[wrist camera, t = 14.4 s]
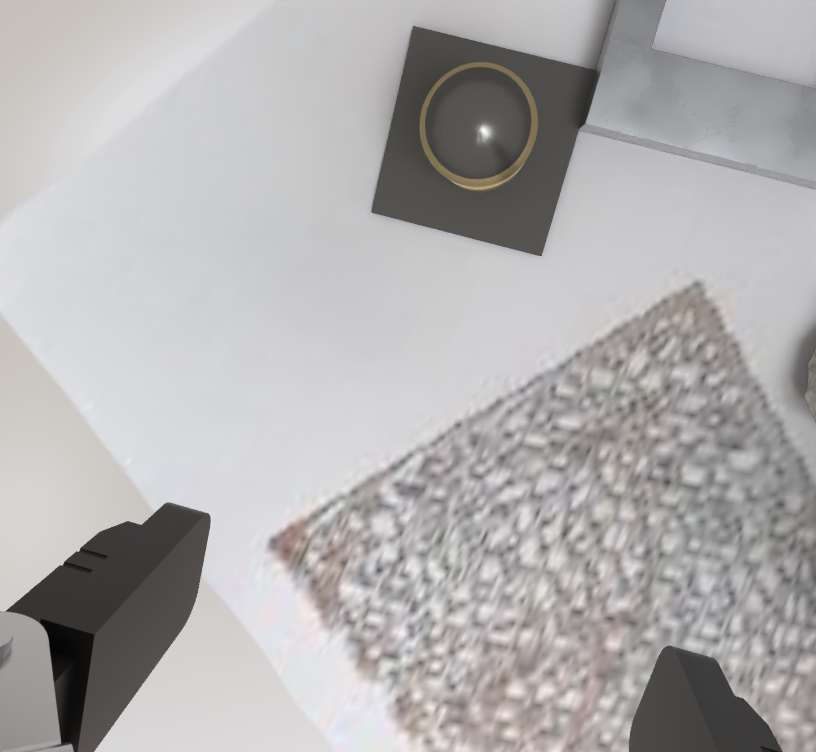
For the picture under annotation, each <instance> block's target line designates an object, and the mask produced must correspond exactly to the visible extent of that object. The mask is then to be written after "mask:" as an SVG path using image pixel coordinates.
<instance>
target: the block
mask: <svg viewBox="0 0 816 752" xmlns="http://www.w3.org/2000/svg"><path fill="white" fill-rule="evenodd" d="M665 2H666V0H616V3H615V6H614V10H613V13H612V16H611V20H610V23H609V27H608V30H607V33H606V37H605V40H604V43H603V47H602V50H601V54H600V57H599V60H598V64H597V67H596V73H595V76H594V80H593V83H592V87H591V90H590V93H589V97H588V100H587V103H586V107H585V110H584V114H583V117H582V120H581V124H580V127H579V130H580V131H584V132H588V133H592V134H596V135H600V136H604V137H608V138H612V139H616V140H620V141H624V142H628V143H632V144H636V145H640V146H644V147H648V148H652V149H656V150H660V151H664V152H668V153H672V154H676V155H680V156H684V157H688V158H692V159H696V160H700V161H704V162H708V163H712V164H716V165H720V166H724V167H728V168H733V169H737V170H741V171H745V172H749V173H753V174H757V175H761V176H765V177H769V178H773V179H777V180H781V181H785V182H789V183H793V184H797V185H801V186H805V187H809V188H813V189H816V89H814V88H809V87H805V86H801V85H797V84H793V83H789V82H785V81H781V80H776V79H772V78H768V77H764V76H760V75H756V74H752V73H748V72H743V71H739V70H735V69H731V68H727V67H723V66H719V65H715V64H710V63H706V62H702V61H698V60H694V59H690V58H686V57H682V56H678V55H673V54H669V53H665V52H661V51H657V50H653V49H651V47H652V44H653V41H654V37H655V34H656V31H657V28H658V25H659V21H660V18H661V15H662V12H663V9H664V5H665Z"/></svg>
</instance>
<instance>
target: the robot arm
mask: <svg viewBox="0 0 816 752" xmlns="http://www.w3.org/2000/svg"><path fill="white" fill-rule="evenodd" d="M209 530H210V515H209V514H208V513H205V512H201V511H198V510H194V509H190V508H187V507H183V506H180V505H176V504H173V503H165V504H164V505H163V506H162V507H161V508H160V509H159V510H157V511H156V512H155V513H154V514H153V515H152V516H151V517H150V518H149V519H148V520H147V521H146V522H144V523H143V524H142V525H139V524H136V523H132V522H129V521H127V522H124V523H122V524H119V525H117V526H114V527H111V528H109V529H106V530H103V531H101V532H99V533H98V534H97V535H96V536H94V537H93V538H92V539H91V540H90V541H88V542H87V543H86V544H85V545H84V546H83V547H81V548H80V551H79V552H75V553H74V554H73V555H72V556H71V557H69V558H68V559H67V560H66V561H65V562H64V564H63V566H61V565H60V566H59V567H57V568H56V569H55V570H54V571H53V572H52V573H50V574H49V575H48V576H47V577H46V578H45V579H43V580H42V581H41V582H40V583H39V584H37V585H36V586H35V587H34V588H33V589H31V590H30V591H29V592H28V593H27V594H25V595H24V596H23V597H22V598H21V599H20V600H18V601H17V602H16V603H15V604H14V605H12V606H11V607H10V608H9V609H8V610H6V611H5V612H1V611H0V752H94V751H95V750H96V748H97V747H98V745H99V744H100V743H101V741H102V740H103V738H104V737H105V736H106V734H107V733H108V731H109V730H110V729H111V727H112V726H113V725H114V723H115V722H116V720H117V719H118V718H119V716H120V715H121V714H122V712H123V711H124V709H125V708H126V707H127V705H128V704H129V702H130V701H131V700H132V698H133V697H134V695H135V694H136V693H137V691H138V690H139V688H140V687H141V686H142V684H143V683H144V681H145V680H146V679H147V677H148V676H149V674H150V673H151V672H152V670H153V669H154V668H155V666H156V665H157V663H158V662H159V661H160V659H161V658H162V656H163V655H164V654H165V652H166V651H167V650H168V648H169V647H170V645H171V644H172V643H173V641H174V640H175V638H176V637H177V636H178V634H179V633H180V632H181V630H182V629H183V627H184V625H185V624H186V622H187V620H188V618H189V616H190V614H191V611H192V609H193V606H194V603H195V600H196V597H197V593H198V588H199V583H200V577H201V572H202V567H203V561H204V556H205V551H206V545H207V540H208V535H209ZM629 752H783V751H782V750H781V748H780V746H779V744H778V742H777V740H776V739H775V737H774V735H773V733H772V731H771V729H770V727H769V726H768V724H767V723H766V722H765V721H764V720H763V719H762V718H761V717H760V716H759V715H758V714H757V713H756V712H755V711H754V710H753V708H752V707H751V706H750V705H749V704H748V703H747V702H746V701H745V700H744V699H743V698H740V697H736V696H735V695H734V694H733V692H732V690H731V688H730V686H729V684H728V682H727V680H726V678H725V676H724V674H723V672H722V670H721V668H720V666H719V664H718V662H717V661H716V660H715V659H714V658H711V657H708V656H704V655H701V654H697V653H694V652H690V651H687V650H683V649H680V648H676V647H672V646H667V647H665V648H664V649H663V650H662V652H661V653H660V655H659V657H658V659H657V662H656V664H655V667H654V669H653V672H652V674H651V677H650V679H649V682H648V684H647V687H646V689H645V692H644V694H643V697H642V699H641V702H640V704H639V707H638V709H637V712H636V714H635V716H634V719H633V722H632V726H631V731H630V739H629Z"/></svg>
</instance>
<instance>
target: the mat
mask: <svg viewBox="0 0 816 752" xmlns="http://www.w3.org/2000/svg"><path fill="white" fill-rule="evenodd" d="M475 62H487V63H494V64H497V65H500V66H503V67H505V68H507V69H509V70H510V71H512V72H513V73H515V74H516V75H517V76H518V77H519V78H520V79H521V80H522V81H523V82H524V83H525V84H526V86H527V87H528V89H529V90H530V92H531V94H532V96H533V98H534V101H535V105H536V109H537V114H538V130H537V135H536V140H535V143H534V146H533V148H532V150H531V152H530V155H529V156H528V158H527V160H526V161H525V163H524V165H523V166H522V168H521V170H520V171H519V173H518V174H517V175H516V176H515V178H513V179H512V180H511V181H510V182H509V183H508V184H506V185H505V186H503V187H501V188H499V189H497V190H494V191H490V192H483V193H481V192H471V191H468V190H465V189H463V188H461V187H459V186H457V185H456V184H454V183H453V182H451V181H450V180H449V179H447V178H446V177H444V176H443V175H442V174H441V173H439V172H438V171H437V170H436V169H435V167H434V166H433V165H432V164H431V162H430V161H429V159H428V158H427V156H426V154H425V152H424V149H423V146H422V143H421V138H420V129H419V127H420V116H421V111H422V107H423V104H424V102H425V99H426V97H427V95H428V94H429V92H430V90H431V89H432V87H433V86H434V85H435V83H436V82H437V81H438V80H439V79H440V78H441V77H443V76H444V75H445V74H446V73H448V72H449V71H451V70H453V69H454V68H457V67H459V66H461V65H465V64H468V63H475ZM595 73H596V71H595V70H591V69H587V68H583V67H579V66H575V65H570V64H566V63H562V62H558V61H554V60H550V59H546V58H542V57H538V56H534V55H530V54H526V53H521V52H517V51H513V50H509V49H505V48H501V47H497V46H493V45H489V44H485V43H481V42H477V41H472V40H468V39H464V38H460V37H456V36H452V35H448V34H444V33H440V32H436V31H432V30H428V29H423V28H419V27H415V26H413V31H412V35H411V40H410V44H409V48H408V53H407V57H406V62H405V66H404V71H403V75H402V79H401V84H400V88H399V93H398V97H397V101H396V106H395V110H394V115H393V119H392V124H391V128H390V132H389V137H388V141H387V146H386V150H385V155H384V159H383V163H382V168H381V172H380V177H379V181H378V185H377V190H376V194H375V199H374V203H373V208H372V213H376V214H379V215H383V216H387V217H391V218H395V219H399V220H403V221H406V222H410V223H414V224H418V225H422V226H426V227H430V228H434V229H437V230H441V231H445V232H449V233H453V234H457V235H461V236H464V237H468V238H472V239H476V240H480V241H484V242H488V243H492V244H495V245H499V246H503V247H507V248H511V249H515V250H519V251H523V252H526V253H530V254H534V255H538V256H542V252H543V249H544V246H545V242H546V239H547V235H548V232H549V229H550V225H551V222H552V219H553V215H554V212H555V208H556V205H557V202H558V198H559V195H560V191H561V188H562V185H563V181H564V178H565V175H566V171H567V168H568V164H569V161H570V158H571V154H572V151H573V147H574V144H575V141H576V137H577V134H578V131H579V127H580V124H581V120H582V117H583V114H584V110H585V107H586V103H587V100H588V97H589V93H590V90H591V87H592V83H593V80H594V76H595Z"/></svg>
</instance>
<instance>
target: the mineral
mask: <svg viewBox="0 0 816 752" xmlns="http://www.w3.org/2000/svg"><path fill="white" fill-rule="evenodd" d="M808 369H809V376H808V388H807V390H806V392H805V394H804V396H805V399H806V402H807V405H808V407H809V409H810V411H811V413H812V415H813V418H814V420H815V422H816V350H815V352H814V354H813V357H812V358H811V360H810V362H809V364H808Z"/></svg>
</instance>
